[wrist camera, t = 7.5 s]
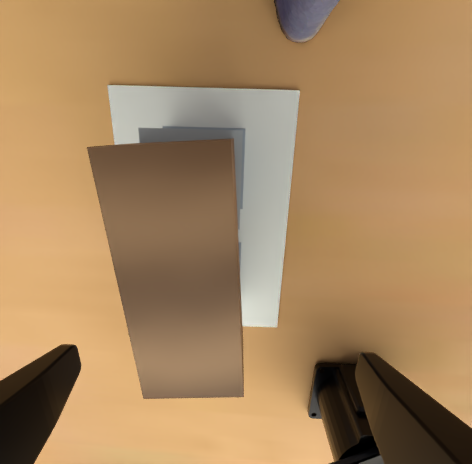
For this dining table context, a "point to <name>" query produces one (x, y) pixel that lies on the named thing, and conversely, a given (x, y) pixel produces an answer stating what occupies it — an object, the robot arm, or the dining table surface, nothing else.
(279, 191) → the white flat rectangular plate
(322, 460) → the dining table surface
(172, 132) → the tilted pale grey prism
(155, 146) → the lintel
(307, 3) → the flask
